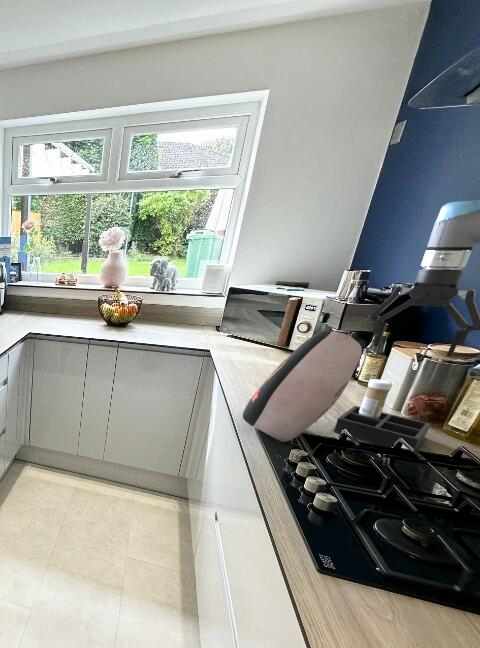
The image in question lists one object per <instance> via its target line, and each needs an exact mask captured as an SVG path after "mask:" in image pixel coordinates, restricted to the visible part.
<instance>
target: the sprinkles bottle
mask: <svg viewBox="0 0 480 648" xmlns="http://www.w3.org/2000/svg"><path fill="white" fill-rule="evenodd" d="M392 387H393V382H391V381H388V380H384V379H378V378H372V379H370V380H369V381H368V383H367V388H366V392H365V395H364V397H363V399H362V402H361V405H360V407H361V408H360V411H359V415H363V416H367V417H371V418H375V419H379V417H380V415H381V412H383V409H384V407H385V404H386V400H387V397H388V394H389V392H390V390H392Z"/></svg>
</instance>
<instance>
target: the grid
mask: <svg viewBox="0 0 480 648" xmlns="http://www.w3.org/2000/svg"><path fill="white" fill-rule="evenodd" d="M360 408H361V406H357V405H354V406H352V407H351V408H350V409H348V410H347V411H346V412H344V413H343V414H342V415H340V416H339V417H338V418H337V420H336V423H335V426H334V430H333V433H336V434H340V433H341V432H342V430H344V429H347V430H348V431H349V432H350V433H351V434H352V435H353V437H354V438H353V437H352V438H353V439H357V440H361V441H364V442H366V443H371V444H374V445H377V446H381V447H385V448H388V447H393V446H394V443H395V442H396V441H397V440H398V439H399V438H403V439H404V440H405V441H407V442H408V443H409V444H410V445H411V446H412V447H413V448H414V449H416V450H417V449H418V448H419V447H420V446H421V444H422V442H423V441H424V440H425V438H426V435H427V433H428V431H429V429H430V426H431V423H430V422H425V421H420V420H416V419H412V418H408V417H404V416H399V415H395V414H391V413H387V412H383V411H382V412H381V415H380V417H379V419H375V418H371V417H367V416H363V415H359V411H360ZM340 435H341V434H340Z"/></svg>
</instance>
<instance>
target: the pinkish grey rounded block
mask: <svg viewBox="0 0 480 648" xmlns="http://www.w3.org/2000/svg"><path fill="white" fill-rule="evenodd" d="M362 353H363V348H362V345H361V344H360V343H359V342H358V341H357V340H356V339H354V337H352V336H350V335H349V334H346V333H342V332H339V331H335V330H320V331H318V332H316V333H315V334H313V335H312V336H311V337H309V338H308V339H307V340H305V341H303V343H301V344H300V345H299V346H298V347H297V348H296V349H295V350H294V351H293V352H292V353H290V354H289V355H288V356H287V357H286V358H285V359H284V360H283V361H282V362H281V363H280V364H279V365H278V366H277V367H276V368H275V369H274V371H272V373H271V374H269V376H268V377H266V380H264V382H263V383H262V384H261V385H260V387H259V388H258V389H257V390H256V392H255V393H254V394H253V396H252V397H251V398H250V399H249V401H248V403H247V404H246V406H245V408H244V409H243V411H242V420H243V421H244V422H245V423H246V424H248V425H249V426H251V427H252V428H255V429H257V430H259V431H261V432H263V433H265V434H266V435H268V436H269V437H272V438H274V439H275V440H277V441H279V442H281V443H288V442H291V441H292V440H293V439H295V438H297V437H298V436H299V435H301V434H302V433H304V432H305V431H306V430H308V429H309V428H310V427H311V426H312V425H314V424H315V423H316V422H317V421H318V420H319V419H321V418H322V417H323V416H324V415H325V414H326V413H327V412H328V411H329V410H330V409H331V408H333V406H334V405H335V404H336V402H337V401H338V400H339V399H340V397H341V396H342V394H343V393H344V391H345V390H346V388H347V386H348V385H349V382H350V380H351V379H352V376H353V375H354V372H355V370H356V369H357V366H358V364H359V361H360V359H361V357H362Z"/></svg>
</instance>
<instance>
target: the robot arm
mask: <svg viewBox="0 0 480 648" xmlns="http://www.w3.org/2000/svg"><path fill="white" fill-rule="evenodd" d="M475 244H480V200H461V201H452V202H447V203H445V204H444V205H443V206H442V207H441V208H440V211H439V213H438V216H437V217H436V220H435V222H434V224H433V227H432V231H431V234H430V237H429V240H428V242H427V247H426V250H425V252H424V254H423V258H422V260H421V263H420V267H422V268H420V269H418V271H417V273H416V277H415V280H414V283H413V285H412V286H411V287H406V286H405V287H404V286H403V285H399V286H396V287H395V288H394V290H393V291H392V293H391V295H389V297H387V298H386V299H385V300H384V301H383V302H382V303H381V304H380V305H379V306H378V307H376V309H375V310H374V311H373V312H372V313H370V314H369V315H368V319H369V320H372V321H374V322H375V324H374V327H373V330H372V333H373V334H374V335H376V336H375V337H376V338H375V340H374V344H373V347H379V346H380V345H381V344H382V343H381V342H382V340H383V338H384V333H385V331H386V328H387V325H388V322H386V320H388V319H390V318H392V317H393V316H395V315H397V314H398V313H400V312H402V311H403V310H405V309H407V308H408V307H410V306H412V305H414V304H415V305H417V306H421V307H423V306H429V307H435V308H436V307H441V306H442V308H443V309H444V310H445V312H447V313H448V314H449V316H450V317H451V318H452V319H453V321H454V322H455V323H456V324H457V326H458V327H459V329H457V330H456V332H455V334H454V336H453V339H452V342H451V344H450V346H449V349H448V351H447V353H446V357H450V358H451V357H452V356H453V355H454V353H455V350H456V348H457V345H458V344H459V345H464V344H465V342H466V341H467V339H468V336H469V334H470V332H473V331H480V312H479V309H478V306H477V303H476V301H475V297H476V289H470V290H459V288H458V287H459V284H460V283H461V279H462V277H463V274H464V270H463V269H462V268H465V267H466V266H467V264H468V261H469V259H470V256H471V255H472V250H473V247H474V246H475ZM406 293H408V295H409V297H410V298H411V299H408V300H407V301H405V302H403V303H402V304H400V305H398V306H397V307H395V308H393V309H391V310H390V311H388V312H386V313H385V314H383V315H381V316H379V315H380V314H382V313H383V312H384V311H385V309H387V308H388V307H389V306H390V305H391V304H392V303H393V302H394V301H395V300H397V299H398V298H399V297H400V296H403V295H404V294H406ZM457 296H459V297H460V299H461V300H464V301H465V305H466V309H467V311H468V314H469V317H470V320H471V323H472V324H469V323H468V321H467V320H466V319H465V318H464V316H463V315H462V314H461V312H459V311H458V309H457V308H456V306H455V305H454V304H453V302H452V301H451V300H452V299H453V298H455V297H457Z"/></svg>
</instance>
